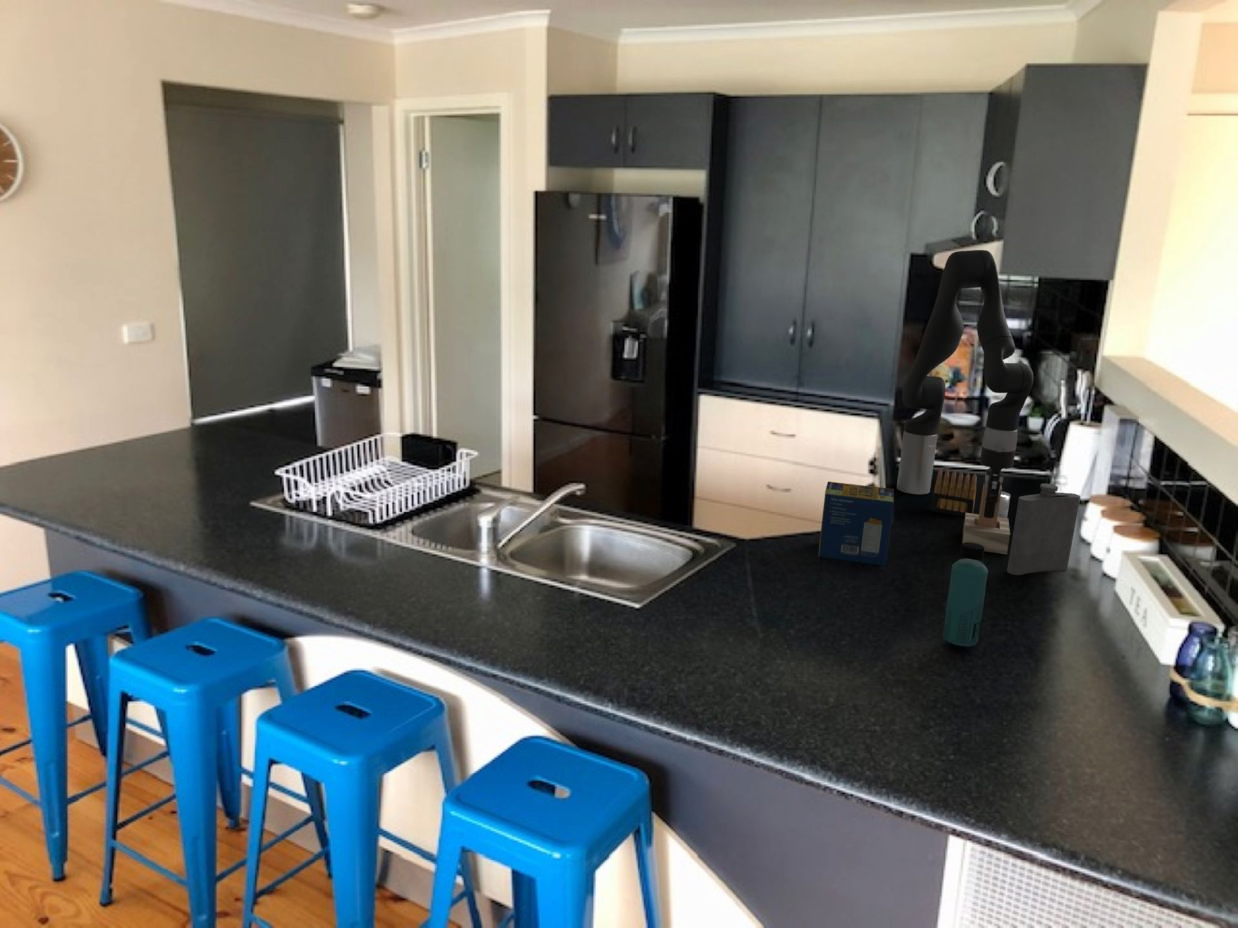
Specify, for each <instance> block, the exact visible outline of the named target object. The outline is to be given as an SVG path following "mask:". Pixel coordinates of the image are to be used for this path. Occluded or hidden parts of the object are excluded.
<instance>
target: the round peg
mask: <svg viewBox="0 0 1238 928" xmlns="http://www.w3.org/2000/svg"><path fill="white" fill-rule="evenodd" d="M1010 499H1011V494H1010V493H1008V492H1005V491H1003V490H1002V491H1001V498H1000V504H999V510H998V517H1000V518H1007V519H1008V514H1009V513H1008V512H1009V509H1010V508H1009V507H1010Z"/></svg>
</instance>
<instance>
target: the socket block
mask: <svg viewBox="0 0 1238 928" xmlns="http://www.w3.org/2000/svg"><path fill="white" fill-rule="evenodd" d="M978 518H979V513H978V514H977V513H973V514H971V513H966V514H965V517H964V522H963V529H962V544H963V543H965V542H973V543H978V544H980V545H982V546H984V552H987V553H995V554H1001V555H1008V550H1009V542H1010V538H1011V537H1010V536H1011V530H1010V523H1009V518H1008V517H1007V518H1000V517H997V523H996V528H992V527H985V526H978Z"/></svg>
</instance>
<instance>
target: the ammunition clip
mask: <svg viewBox="0 0 1238 928" xmlns="http://www.w3.org/2000/svg"><path fill="white" fill-rule="evenodd" d="M963 474H964V473H963V471H962V470H961V471H960V472H959V475H958V477H957V472H956V470H955V469H954V470H953V472H952V474H951V476H950V472H949V469H948V468H947V469H946V470H945V473H944V477H943V470H942V467H940V468H939V469H938V472H937V475H936V479H935V480H936V481H935V484H934V491H933V496H932V502H931V506H930V511H931V512H934V513H935V512H936V513H940V512H941V513H940V514H947V515H952V516H957V517H962V516H963V518H965V514H966V513H971V514H975V513H974V511H975V510H974V509H975V502H976V501H975V500H976V494H977V474H976V473H974V474H973V476H972V480H971V483H970V479H971V477H970V476H971V475H970V472H967V473H966V475H965V477H964V475H963ZM942 478H943V480H942ZM956 479H957V481H956ZM963 479H964V482H963ZM949 480H950V482H949ZM942 481H943V482H942Z"/></svg>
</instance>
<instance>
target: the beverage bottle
mask: <svg viewBox="0 0 1238 928" xmlns="http://www.w3.org/2000/svg"><path fill="white" fill-rule="evenodd" d="M959 555H960V556H961V557H963V558H960V559H958V560H957V561H955V562H953V564H952V565H951V573H950V581H949V588H948V593H947V599H946V606H945V611H944V618H943V621H944V622H943V625H942V635H943V638H944V640H946V642H948V643H950V644H953V645H956V646H960V647H961V646H962V647H973V646H976V645H977V643H978V641H979V639H980V634H981V628H982V622H983V621H982V620H983V614H984V609H985V607H984V602H985V598H986V590H987V589H986V587H987V580H988V575H989V570H988V567H987V566H986V565H985V564H984V563H983V562H981V561H979V560H983V559H985V551H984V546H982V545H980V544H978V543H973V542H965V543H963V542H962V544H961V547H960V551H959Z"/></svg>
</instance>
